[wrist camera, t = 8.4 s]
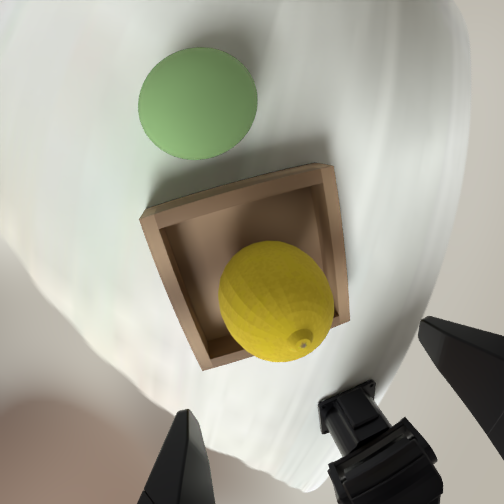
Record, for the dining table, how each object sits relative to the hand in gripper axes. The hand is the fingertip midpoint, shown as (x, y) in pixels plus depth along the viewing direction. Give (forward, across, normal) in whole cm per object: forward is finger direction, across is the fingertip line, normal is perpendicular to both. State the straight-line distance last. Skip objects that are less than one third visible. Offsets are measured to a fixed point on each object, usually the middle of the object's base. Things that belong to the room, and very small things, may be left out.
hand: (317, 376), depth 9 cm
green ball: (+10, +1, -10) cm, 14 cm away
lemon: (+10, 0, 0) cm, 10 cm away
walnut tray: (+10, 0, 0) cm, 11 cm away
